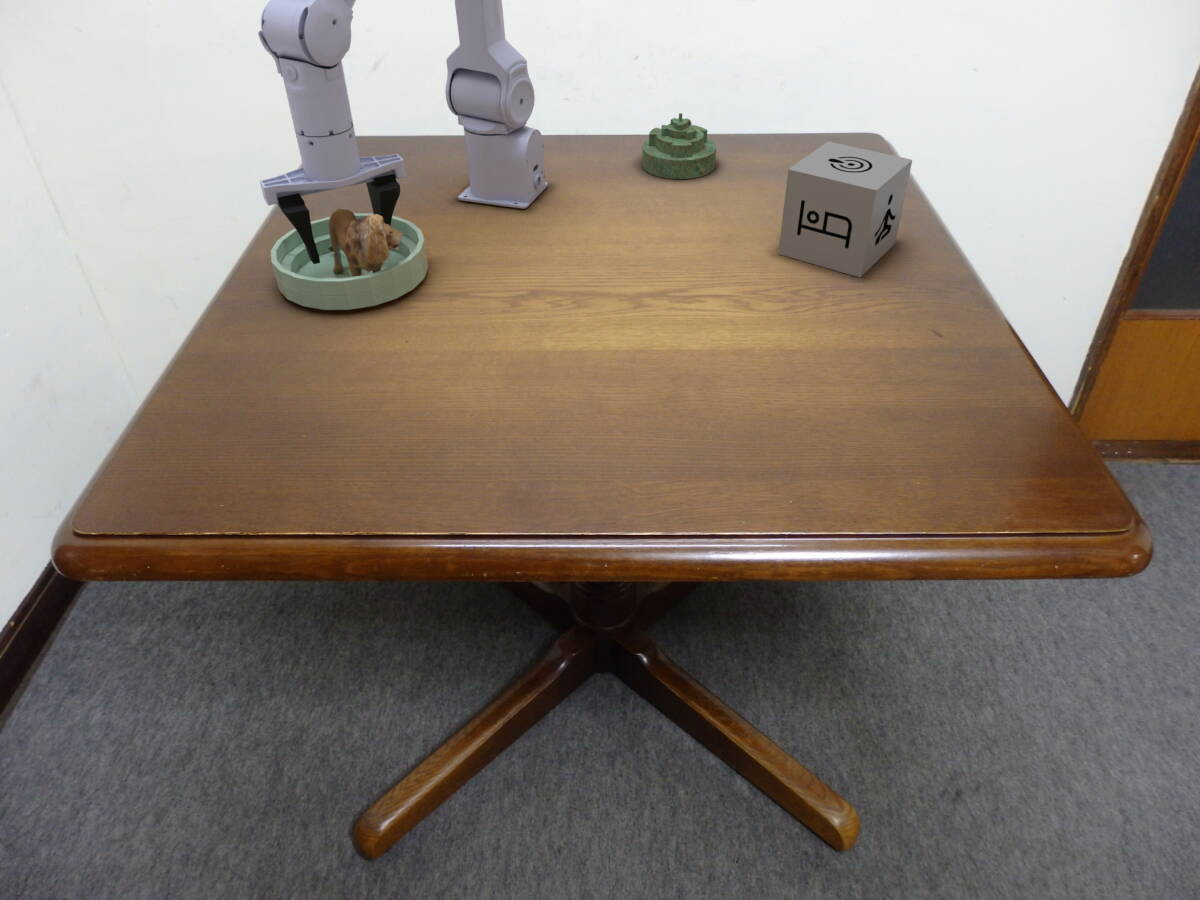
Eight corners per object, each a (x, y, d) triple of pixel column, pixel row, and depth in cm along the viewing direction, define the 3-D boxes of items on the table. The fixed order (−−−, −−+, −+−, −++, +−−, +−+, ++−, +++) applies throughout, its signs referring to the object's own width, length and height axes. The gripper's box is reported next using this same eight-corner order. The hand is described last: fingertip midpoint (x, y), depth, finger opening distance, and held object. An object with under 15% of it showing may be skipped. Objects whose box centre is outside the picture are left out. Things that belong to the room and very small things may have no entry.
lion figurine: (417, 294, 97) (405, 214, 91) (373, 311, 94) (357, 230, 89) (350, 247, 106) (335, 172, 100) (308, 261, 103) (290, 185, 97)
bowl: (452, 255, 105) (448, 223, 103) (383, 325, 93) (376, 290, 91) (330, 237, 109) (323, 205, 107) (249, 301, 97) (239, 267, 95)
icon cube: (778, 253, 104) (788, 169, 98) (816, 222, 111) (828, 141, 104) (860, 277, 100) (876, 190, 94) (895, 243, 106) (912, 159, 100)
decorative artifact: (641, 179, 122) (716, 179, 121) (642, 126, 117) (720, 126, 117) (642, 151, 130) (712, 151, 129) (643, 101, 125) (716, 101, 125)
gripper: (382, 103, 96) (401, 223, 105) (241, 127, 91) (274, 252, 99) (403, 123, 91) (422, 247, 100) (256, 150, 86) (289, 279, 95)
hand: (349, 251), depth 99 cm, fingers open, 7 cm apart
